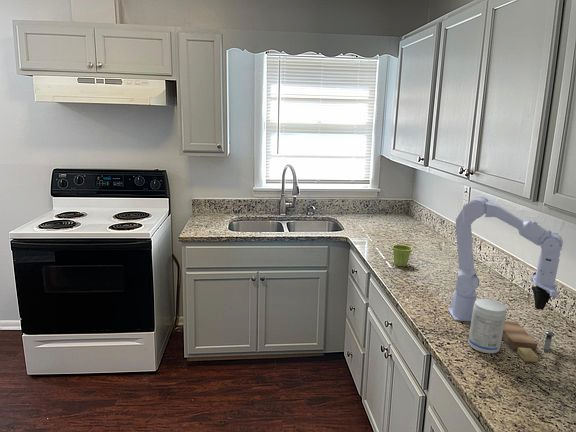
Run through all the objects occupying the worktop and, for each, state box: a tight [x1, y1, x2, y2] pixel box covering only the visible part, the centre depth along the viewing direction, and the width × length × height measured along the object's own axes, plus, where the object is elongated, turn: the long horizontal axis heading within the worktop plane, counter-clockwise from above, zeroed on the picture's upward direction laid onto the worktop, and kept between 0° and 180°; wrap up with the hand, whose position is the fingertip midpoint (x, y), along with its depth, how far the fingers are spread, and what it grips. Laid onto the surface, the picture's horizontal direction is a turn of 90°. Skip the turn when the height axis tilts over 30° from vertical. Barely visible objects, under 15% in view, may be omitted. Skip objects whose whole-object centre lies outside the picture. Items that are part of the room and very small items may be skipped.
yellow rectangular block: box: [516, 347, 539, 363], centre depth 139 cm, size 5×4×2 cm
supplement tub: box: [467, 298, 508, 354], centre depth 143 cm, size 10×10×15 cm
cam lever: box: [543, 330, 555, 354], centre depth 141 cm, size 2×12×6 cm, turn 147°
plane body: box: [502, 320, 538, 353], centre depth 150 cm, size 15×8×3 cm, turn 176°
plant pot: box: [391, 244, 413, 267], centre depth 219 cm, size 9×9×9 cm
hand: (539, 308), depth 151 cm, fingers closed
